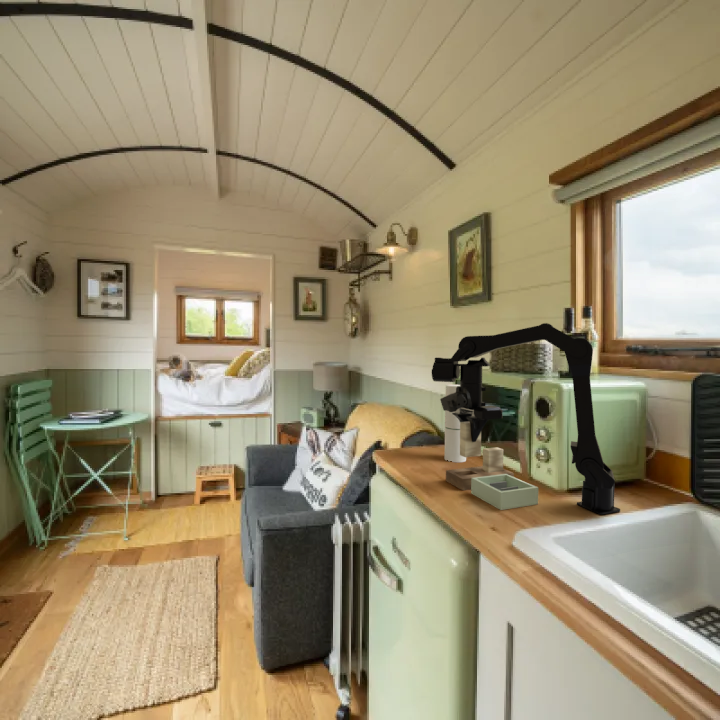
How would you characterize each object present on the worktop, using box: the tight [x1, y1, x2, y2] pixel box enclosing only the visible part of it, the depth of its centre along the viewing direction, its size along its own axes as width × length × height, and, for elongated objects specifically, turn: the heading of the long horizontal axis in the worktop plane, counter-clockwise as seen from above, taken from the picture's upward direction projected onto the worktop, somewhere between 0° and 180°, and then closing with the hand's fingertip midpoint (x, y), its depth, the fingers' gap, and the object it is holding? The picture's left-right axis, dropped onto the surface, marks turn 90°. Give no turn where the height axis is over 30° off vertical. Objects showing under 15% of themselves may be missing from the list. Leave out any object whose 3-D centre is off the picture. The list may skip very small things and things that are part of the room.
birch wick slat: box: [460, 422, 482, 458], centre depth 105 cm, size 5×2×9 cm, turn 110°
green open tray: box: [470, 474, 539, 511], centre depth 96 cm, size 11×11×4 cm
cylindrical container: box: [443, 384, 467, 463], centre depth 131 cm, size 7×7×25 cm
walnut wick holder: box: [445, 465, 515, 491], centre depth 108 cm, size 17×8×3 cm, turn 110°
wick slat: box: [482, 447, 504, 473], centre depth 110 cm, size 5×2×9 cm, turn 110°
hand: (470, 440), depth 105 cm, fingers closed on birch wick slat, 2 cm apart
